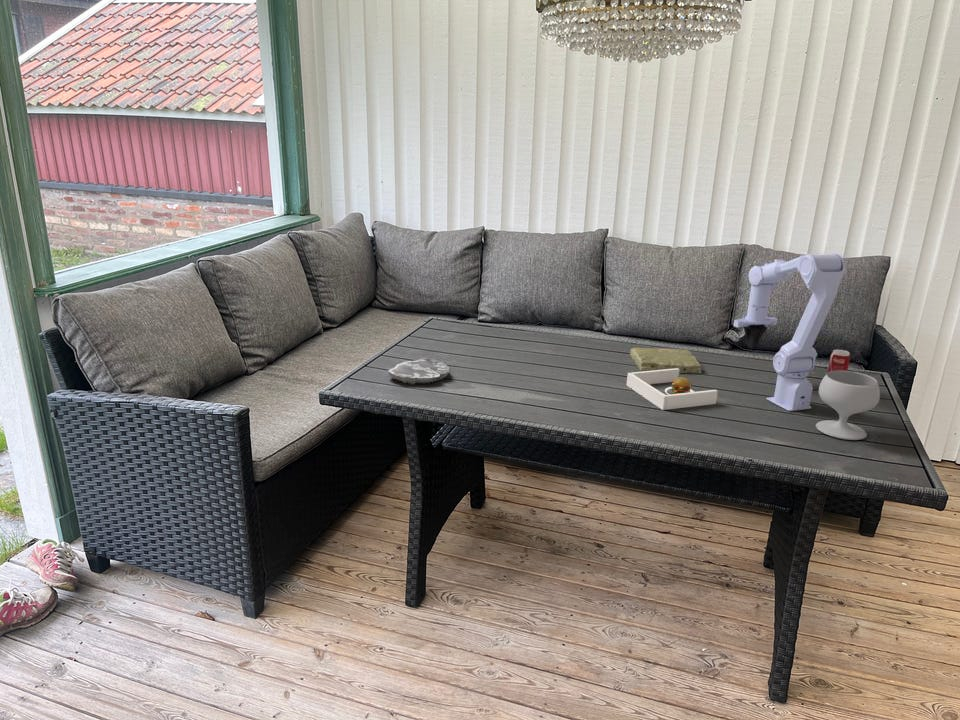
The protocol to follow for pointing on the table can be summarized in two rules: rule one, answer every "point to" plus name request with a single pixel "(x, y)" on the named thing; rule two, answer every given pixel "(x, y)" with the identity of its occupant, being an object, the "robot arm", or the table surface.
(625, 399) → the table surface
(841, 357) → the soda can
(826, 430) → the chalice
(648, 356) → the decorative tile
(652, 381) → the box
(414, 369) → the brain slice
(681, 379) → the hamburger
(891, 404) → the table surface
